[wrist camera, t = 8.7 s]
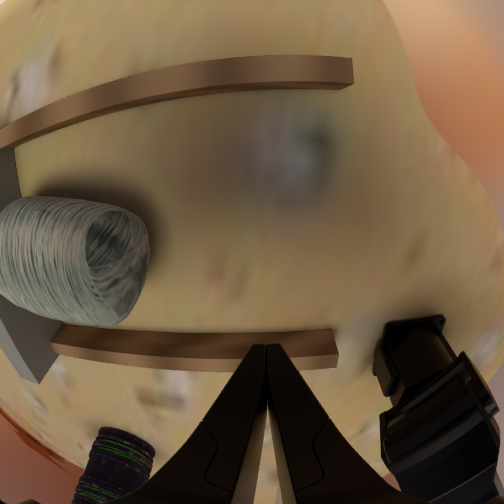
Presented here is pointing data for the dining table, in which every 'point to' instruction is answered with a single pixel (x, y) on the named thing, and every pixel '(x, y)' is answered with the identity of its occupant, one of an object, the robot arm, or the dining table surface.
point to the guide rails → (167, 88)
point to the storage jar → (114, 467)
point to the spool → (72, 259)
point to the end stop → (19, 319)
